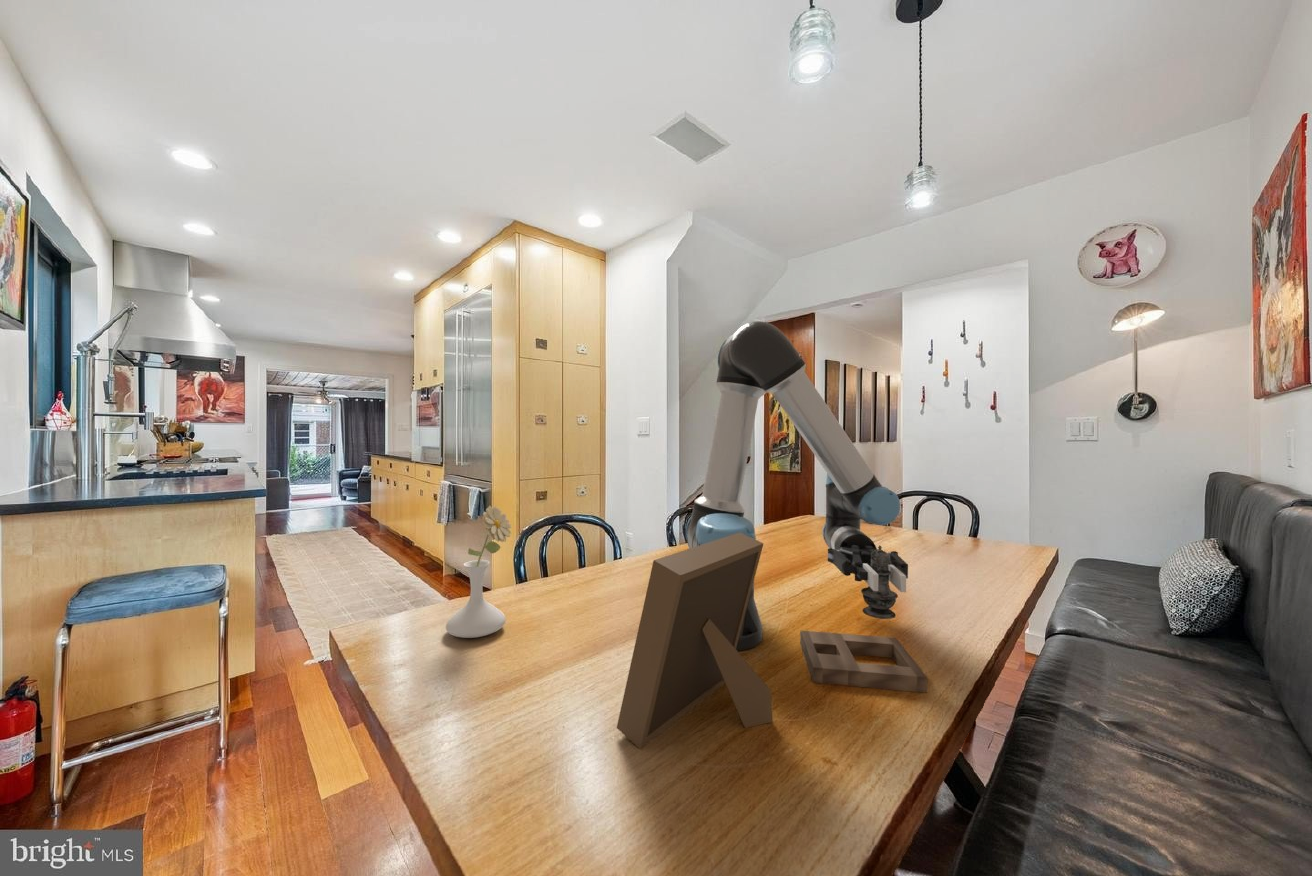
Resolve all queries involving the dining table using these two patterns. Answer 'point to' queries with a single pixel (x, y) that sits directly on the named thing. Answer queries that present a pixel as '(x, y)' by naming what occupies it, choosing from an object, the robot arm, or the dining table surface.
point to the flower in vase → (481, 585)
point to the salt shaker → (880, 588)
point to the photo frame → (693, 639)
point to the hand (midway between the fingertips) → (889, 583)
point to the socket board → (838, 666)
